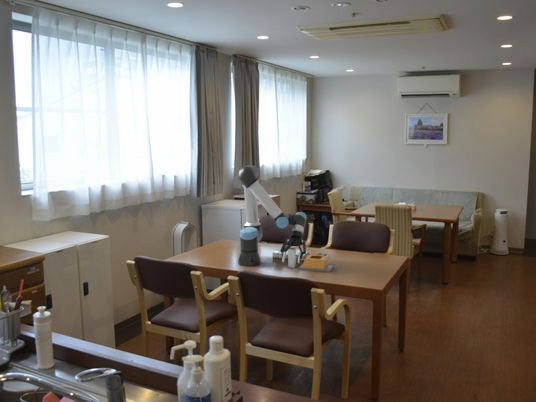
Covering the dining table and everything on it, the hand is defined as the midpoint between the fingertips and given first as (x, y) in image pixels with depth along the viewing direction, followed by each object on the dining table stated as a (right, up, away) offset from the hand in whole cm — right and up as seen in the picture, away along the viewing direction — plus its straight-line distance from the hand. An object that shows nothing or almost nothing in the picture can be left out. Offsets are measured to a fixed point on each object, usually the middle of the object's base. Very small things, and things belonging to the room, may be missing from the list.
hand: (290, 262), depth 322 cm
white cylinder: (+1, -4, +3) cm, 5 cm away
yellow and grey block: (+16, -4, -2) cm, 17 cm away
